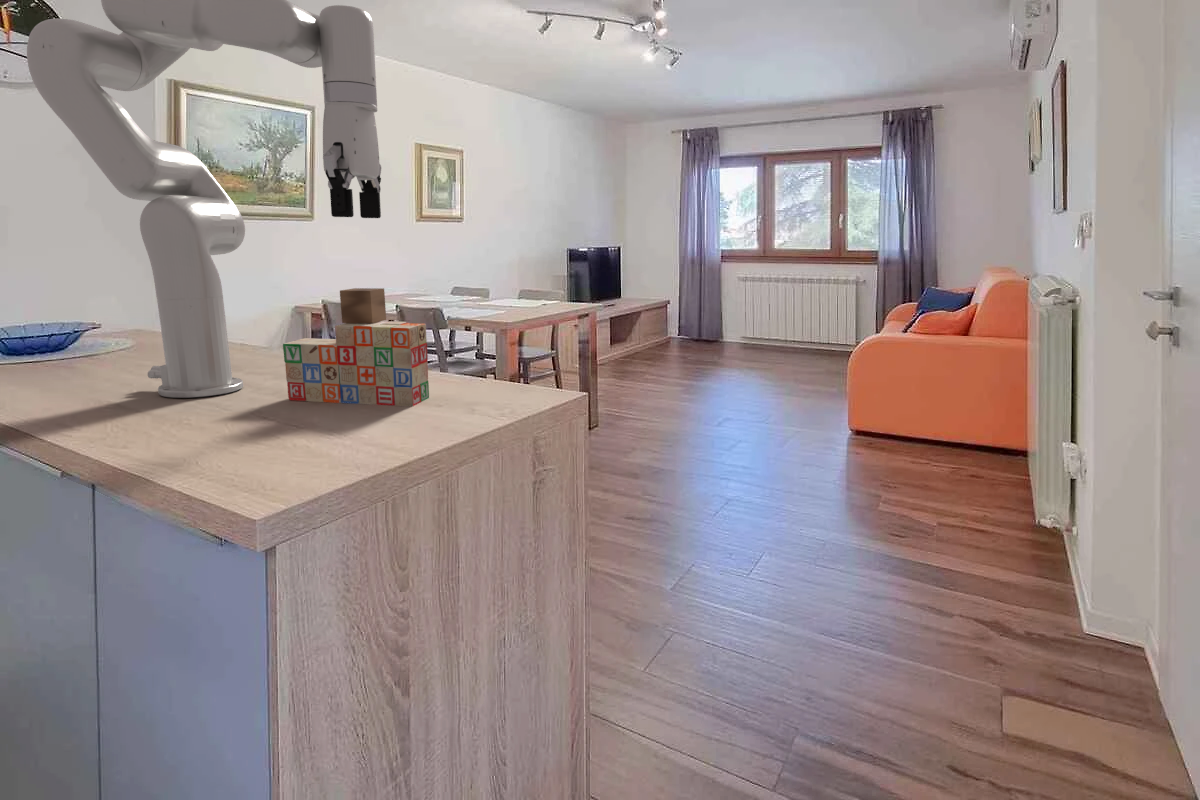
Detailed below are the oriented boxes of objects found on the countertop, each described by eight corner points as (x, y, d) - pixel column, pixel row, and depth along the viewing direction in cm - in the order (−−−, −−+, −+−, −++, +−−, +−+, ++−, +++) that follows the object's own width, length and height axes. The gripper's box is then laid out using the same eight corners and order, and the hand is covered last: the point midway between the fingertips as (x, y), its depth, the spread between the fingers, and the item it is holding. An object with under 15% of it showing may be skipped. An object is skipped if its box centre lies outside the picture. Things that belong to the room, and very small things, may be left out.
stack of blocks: (287, 401, 118) (279, 323, 115) (309, 393, 124) (302, 319, 121) (414, 407, 114) (409, 326, 111) (430, 398, 120) (426, 321, 117)
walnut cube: (342, 322, 116) (339, 290, 115) (357, 319, 121) (354, 288, 120) (372, 323, 116) (370, 290, 114) (386, 319, 120) (384, 288, 119)
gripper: (352, 108, 120) (358, 218, 124) (296, 89, 104) (305, 216, 108) (397, 108, 120) (402, 218, 123) (348, 88, 103) (355, 216, 107)
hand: (357, 217), depth 115 cm, fingers open, 9 cm apart
